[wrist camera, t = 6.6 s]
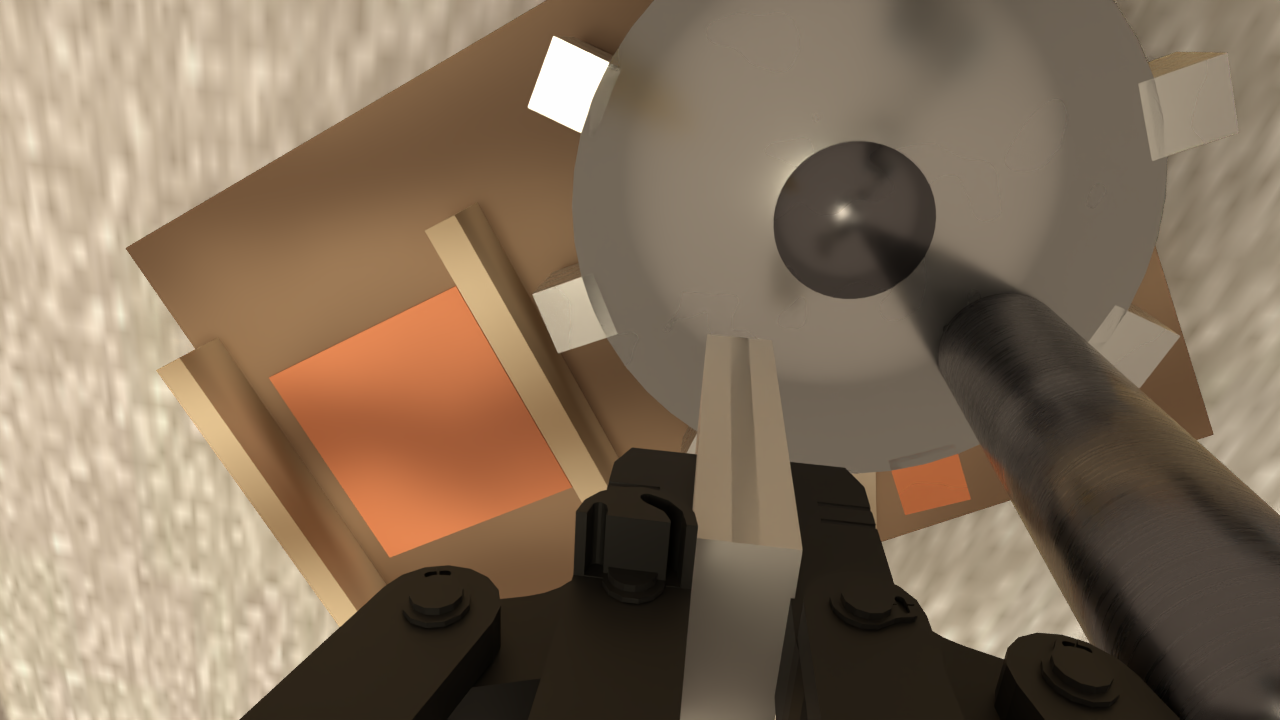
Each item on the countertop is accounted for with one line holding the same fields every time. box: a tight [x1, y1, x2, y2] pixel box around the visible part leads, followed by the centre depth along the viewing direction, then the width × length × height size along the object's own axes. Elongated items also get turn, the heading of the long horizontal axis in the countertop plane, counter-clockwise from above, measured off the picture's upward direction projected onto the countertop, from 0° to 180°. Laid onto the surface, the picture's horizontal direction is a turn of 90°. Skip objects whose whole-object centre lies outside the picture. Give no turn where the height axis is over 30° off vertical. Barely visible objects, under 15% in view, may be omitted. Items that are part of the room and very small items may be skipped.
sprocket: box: [528, 0, 1280, 720], centre depth 12 cm, size 13×13×12 cm
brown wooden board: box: [126, 0, 1213, 627], centre depth 19 cm, size 15×22×2 cm
